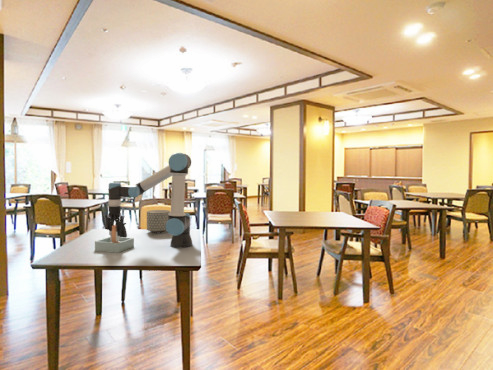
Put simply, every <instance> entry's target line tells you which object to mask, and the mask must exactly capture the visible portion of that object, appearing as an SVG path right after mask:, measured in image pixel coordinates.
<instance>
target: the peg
mask: <svg viewBox="0 0 493 370" xmlns="http://www.w3.org/2000/svg"><path fill="white" fill-rule="evenodd" d="M116 231H117V228H116V225H115V224H114V225H112V242H113V243H118V241H116Z"/></svg>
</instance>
